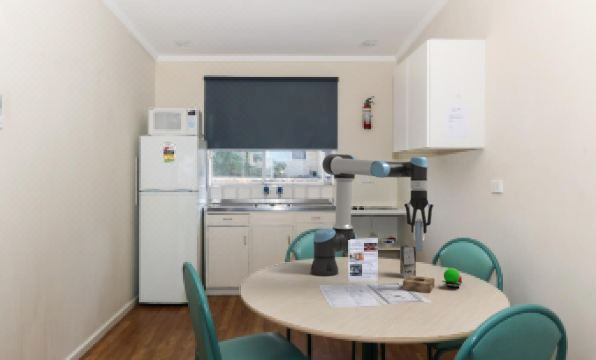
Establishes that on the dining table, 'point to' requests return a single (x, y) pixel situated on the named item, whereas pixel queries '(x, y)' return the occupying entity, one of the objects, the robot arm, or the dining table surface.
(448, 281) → the toy
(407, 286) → the bead block
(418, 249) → the needle dowel
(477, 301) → the dining table surface
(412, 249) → the coffee box
